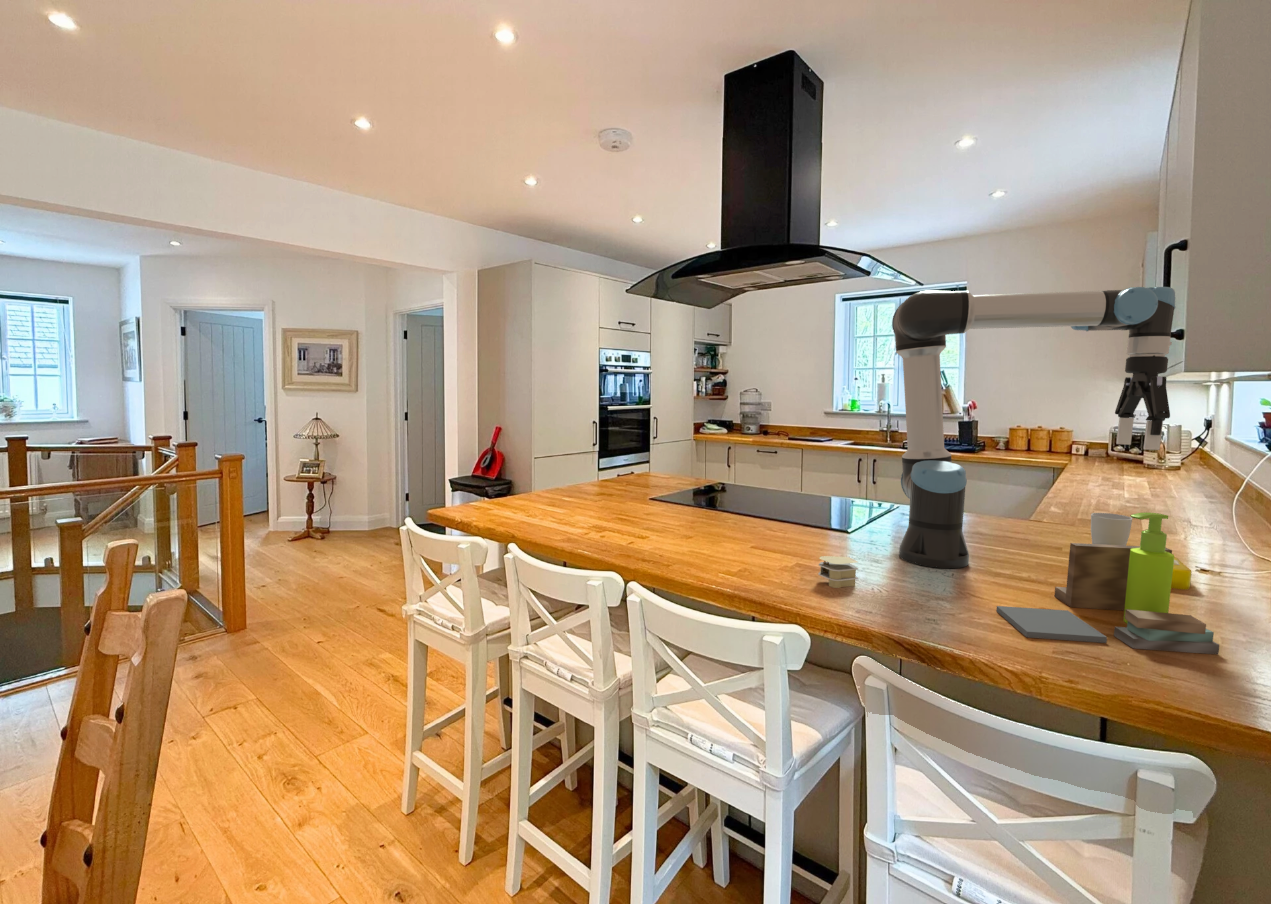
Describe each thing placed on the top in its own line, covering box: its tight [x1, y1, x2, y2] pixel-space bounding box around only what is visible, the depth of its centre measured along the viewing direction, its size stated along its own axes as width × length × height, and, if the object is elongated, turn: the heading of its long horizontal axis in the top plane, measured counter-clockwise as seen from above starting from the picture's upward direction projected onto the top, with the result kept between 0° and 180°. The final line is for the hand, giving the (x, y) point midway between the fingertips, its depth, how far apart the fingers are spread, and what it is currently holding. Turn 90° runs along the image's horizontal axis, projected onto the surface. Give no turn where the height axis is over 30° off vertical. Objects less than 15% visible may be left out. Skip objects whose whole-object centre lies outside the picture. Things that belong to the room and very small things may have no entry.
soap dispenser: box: [1122, 511, 1175, 624], centre depth 106 cm, size 6×7×20 cm
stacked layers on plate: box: [817, 555, 859, 589], centre depth 128 cm, size 10×9×6 cm
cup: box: [1090, 512, 1133, 546], centre depth 151 cm, size 8×8×10 cm
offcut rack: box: [1053, 542, 1220, 655], centre depth 107 cm, size 16×25×12 cm, turn 170°
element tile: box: [1171, 556, 1192, 590], centre depth 135 cm, size 15×15×5 cm
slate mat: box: [995, 605, 1108, 644], centre depth 106 cm, size 12×12×1 cm
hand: (1136, 447), depth 143 cm, fingers open, 13 cm apart
